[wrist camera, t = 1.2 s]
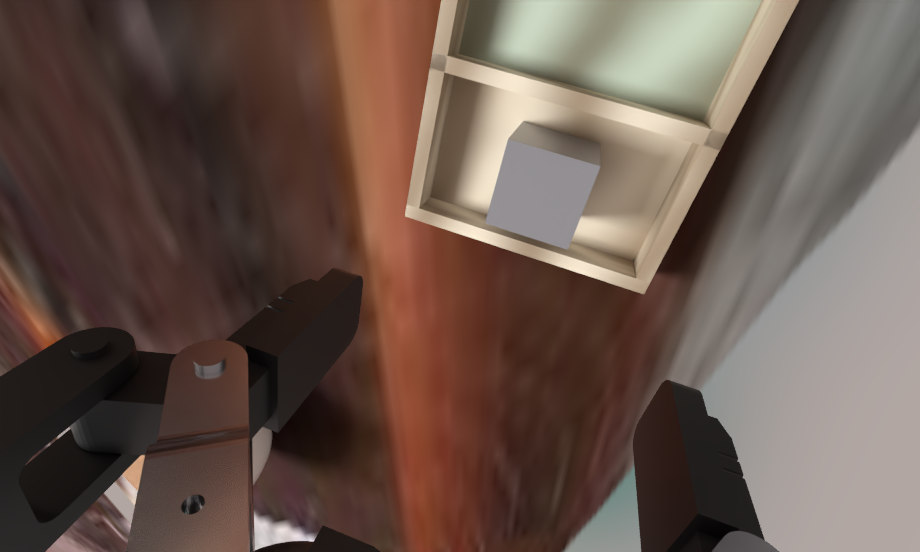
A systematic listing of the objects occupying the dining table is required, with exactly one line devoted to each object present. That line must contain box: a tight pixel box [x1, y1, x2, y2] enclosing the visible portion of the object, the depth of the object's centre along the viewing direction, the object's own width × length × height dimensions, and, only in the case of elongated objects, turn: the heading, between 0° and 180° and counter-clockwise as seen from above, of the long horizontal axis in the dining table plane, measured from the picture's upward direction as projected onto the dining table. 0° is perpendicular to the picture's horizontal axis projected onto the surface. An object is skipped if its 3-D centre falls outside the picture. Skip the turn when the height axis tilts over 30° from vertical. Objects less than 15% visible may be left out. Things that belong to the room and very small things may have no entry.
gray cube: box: [485, 121, 601, 250], centre depth 24 cm, size 4×4×5 cm
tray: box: [405, 0, 799, 294], centre depth 24 cm, size 15×18×3 cm
